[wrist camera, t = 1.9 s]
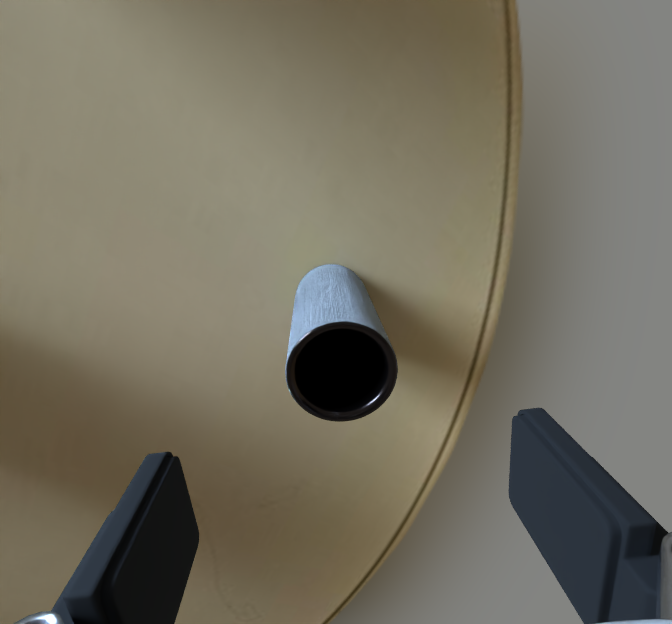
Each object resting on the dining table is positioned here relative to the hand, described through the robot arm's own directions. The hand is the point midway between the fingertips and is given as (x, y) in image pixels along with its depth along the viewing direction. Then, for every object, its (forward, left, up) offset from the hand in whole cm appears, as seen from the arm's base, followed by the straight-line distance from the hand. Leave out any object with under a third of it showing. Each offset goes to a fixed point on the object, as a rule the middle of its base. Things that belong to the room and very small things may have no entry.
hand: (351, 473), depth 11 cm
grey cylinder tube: (0, 0, -16) cm, 16 cm away
